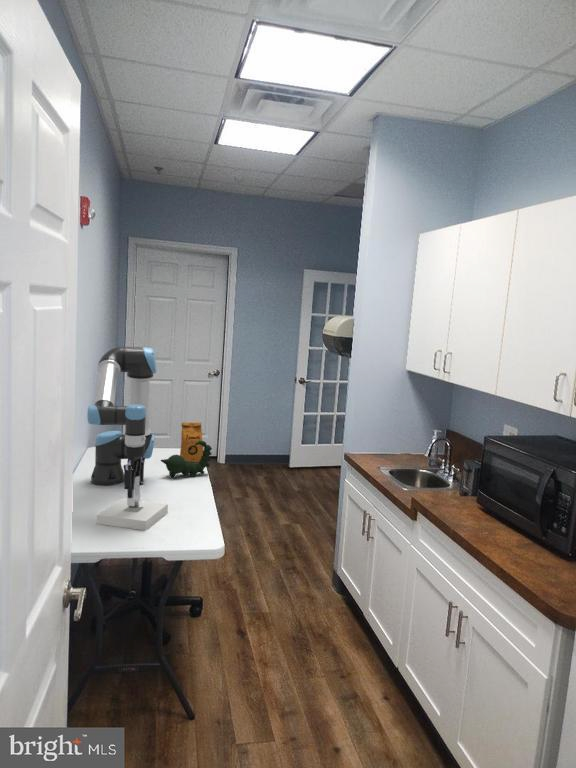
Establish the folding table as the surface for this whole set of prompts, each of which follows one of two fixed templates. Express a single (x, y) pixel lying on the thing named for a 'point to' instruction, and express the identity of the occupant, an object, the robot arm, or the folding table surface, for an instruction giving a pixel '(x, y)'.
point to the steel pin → (136, 491)
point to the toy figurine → (188, 463)
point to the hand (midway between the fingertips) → (133, 503)
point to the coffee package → (191, 442)
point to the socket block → (132, 514)
